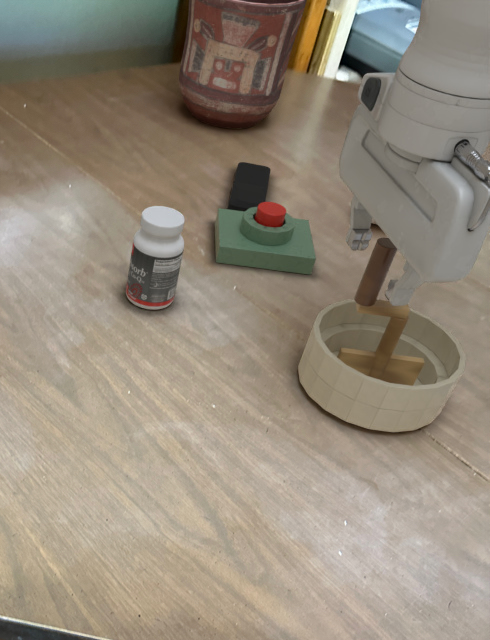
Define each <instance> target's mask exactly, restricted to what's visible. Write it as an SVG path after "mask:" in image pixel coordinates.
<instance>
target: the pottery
mask: <svg viewBox="0 0 490 640" xmlns="http://www.w3.org/2000/svg"><path fill="white" fill-rule="evenodd" d="M188 1H189V2H188V14H187V15H188V16H187V24H186V34H185V40H184V45H183V52H182V56H181V61H180V66H179V75H178V84H179V85H178V86H179V91H180V94H181V97H182V100H183V102H184V104H185V106H186V107H187V109H188V111H189V112H190V113H191V115H192V117H194V118H196V119H197V120H198V121H200V122H202V123H204V124H207V125H209V126H214V127H218V128H223V129H233V130H234V129H235V130H237V129H248V128H251V127H255V126H256V125H257V124H258V123H259V122H261V121H262V120H264V119H265V118H266V117H267V116H268V115H269V114H270V113H271V112H272V110H273V109H274V108H275V107H276V105H277V103H278V101H279V99H280V97H281V94H282V91H283V88H284V87H283V86H284V83H285V78H286V74H287V69H288V65H289V60H290V56H291V53H292V49H293V46H294V43H295V40H296V37H297V34H298V31H299V27H300V24H301V21H302V17H303V14H304V11H305V7H306V4H307V1H308V0H188Z"/></svg>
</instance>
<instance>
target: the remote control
mask: <svg viewBox="0 0 490 640" xmlns="http://www.w3.org/2000/svg"><path fill="white" fill-rule="evenodd" d="M270 175H271V168H270V167H269V166H266V165H261V164H255V163H250V162H245V161H240V162H238V164H237V165H236V170H235V174H234V178H233V182H232V187H231V191H230V195H229V200H228V204H227V208H226V209H228V210H236V211H244V212H245V211H246V210H248V209H249V208H252V207H258V205H259V204H260V203H262V202H267V201H266V200H267V194H268V188H269V183H270Z"/></svg>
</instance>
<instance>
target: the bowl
mask: <svg viewBox="0 0 490 640" xmlns="http://www.w3.org/2000/svg"><path fill="white" fill-rule="evenodd" d="M356 305H357V303H356V302H355V300H354V298H351V299H343V300H340V301H336V302H333V303H330V304H329V305H327V306H326V307H324V308H323V309H322V310H320V311H319V312H318V313H317V315H316V317H315V320H314V322H313V324H312V328H311V330H310V333H309V336H308V338H307V341H306V344H305V346H304V349H303V352H302V356H301V358H300V361H299V363H298V366H297V370H298V378H299V383H300V384H301V386H302V388H303V389H304V391H305V393H306V394H307V395H308V396H309V397H310V398H311V399H312V400H313V401H314V402H315V403H316V404H317V405H319V407H321V409H323V410H324V411H326V412H327V413H329V414H331V415H333V416H335V417H336V418H338V419H340V420H342V421H344V422H346V423H349V424H352V425H355V426H358V427H361V428H363V429H367V430H372V431H379V432H387V433H399V432H410V431H416V430H418V429H421V428H423V427H425V426H428V425H430V424H432V423H433V422H434V420H435V419H436V418H438V416H440V414H441V413H442V411H443V409H444V407H445V406H446V404H447V402H448V401H449V399H450V396H451V395H452V393H453V392H454V389H455V388H456V386H457V384H458V383H459V381H460V379H461V378H462V375H463V374H464V372H465V368H466V361H467V356H466V354H465V352H464V349H463V346H462V343H461V342H459V340H458V339H457V338H456V337H455V335H453V333H452V332H451V331H450V330H449V329H448V328H447V327H445V326H444V325H443V324H441V323H439V322H438V321H437V320H435V319H434V318H432V317H431V316H429V315H427V314H425V313H422V312H420V311H418V310H416V309H414V308H411V307H409V309H410V312H409V314H408V316H409V319H408V321H407V323H406V326H405V328H404V330H403V332H402V334H401V336H400V338H399V340H398V343H397V345H396V347H395V349H394V351H393V353H392V354H394V355H402V356H410V357H417V358H423V359H424V362H425V363H424V365H423V367H422V369H421V371H420V373H419V375H418V377H417V379H416V381H415V383H414V385H413V386H410V385H402V384H395V383H389V382H385V381H382V380H379V379H376V378H373V377H370V376H366V375H365V374H363V373H361V372H359V371H357V370H355V369H353V368H351V367H349V366H347V365H346V364H345V363H343V362H342V361H341V360H340V359H339V358H337V356H338V353H339V351H340V349H341V348H348V349H356V350H364V351H371V352H376V349H377V347H378V345H379V343H380V340H381V338H382V336H383V334H384V332H385V329H386V327H387V325H388V323H389V320H390V318H391V317H387V316H379V315H372V314H364V313H358V312H357V308H356Z"/></svg>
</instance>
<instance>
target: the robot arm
mask: <svg viewBox="0 0 490 640" xmlns="http://www.w3.org/2000/svg"><path fill="white" fill-rule="evenodd" d="M357 99H358V101H359V102H360V104H358V105H357V107H356V108H355V110H354V112H353V115H352V116H351V120H350V122H349V125H348V129H347V132H346V135H345V137H344V140H343V141H344V142H343V144H342V148H341V152H340V155H339V161H338V162H339V163H338V173H339V177H340V180H341V181H342V182H343V183H344V185H345V186H346V187H347V188H348V190H349V191H350V192H351V193H352V195H353V196H352V199H351V202H350V211H349V212H350V213H349V228H348V231H347V235H346V237H345V243H346V244H347V245H348V247H349V248H350V250H351V251H353V252H356V251H360V252H361V251H365V250H367V248H368V247H369V245H370V241H371V240H372V238H373V235H374V233H373V231H372V230H371V226H372V223H371V221H372V218H373V219H374V220H375V222H376V223H377V224H378V225H377V226H378V227H379V228H380V230H381V231H382V232H383V233H384V234H385V236H386V238H389V239H390V240H391V242H392V243H393V244H394V246H395V247H396V248H397V249H398V250H397V252H399V253H400V254H401V256H402V257H403V258H404V260H405V262H404V263H403V267H402V270H403V272H404V273H403V275H401V277H399V279H396V278H395V279H394V278H393V279H391V278H390V280H389V283H388V284H387V289H386V290H385V292H384V296H385V298H386V300H387V301H389V302H390V303H391V305H393V306H404V305H406V304H408V305H409V303H410V301H411V299H412V297H413V295H414V293H415V291H416V289H419V287H421V286H422V285H423V284H425V283H427V284H453V283H454V284H455V283H457V282H460V281H461V280H463V279H465V278H466V277H468V276H469V275H470V273H471V271H472V269H473V268H474V266H475V263H476V261H477V259H478V257H479V254H480V252H481V250H482V247H483V244H484V242H485V240H486V238H487V235H488V232H489V229H490V161H489V160H487V159H485V158H483V157H482V156H483V155H484V153H485V152H486V150H487V149H488V146H489V144H490V0H421V4H420V13H419V19H418V24H417V28H416V31H415V33H414V35H413V37H412V40H411V41H410V43H409V45H408V47H407V48H406V49H405V51H404V52H403V53H402V56H401V58H400V60H399V63H398V65H397V68H396V71H395V72H367V73H365V74H364V75H363V77H362V79H361V81H360V84H359V87H358V91H357Z"/></svg>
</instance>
